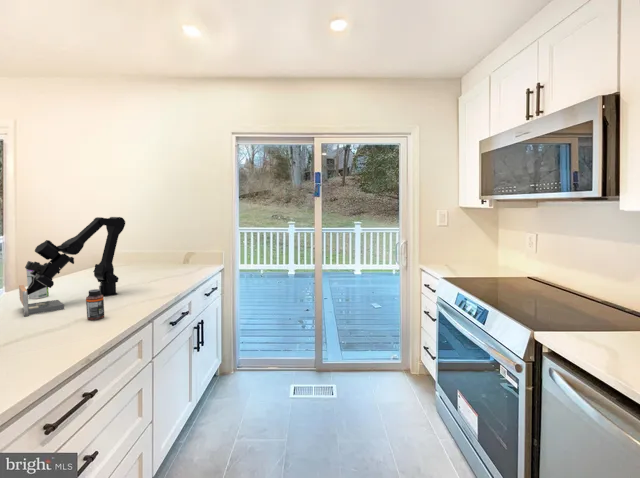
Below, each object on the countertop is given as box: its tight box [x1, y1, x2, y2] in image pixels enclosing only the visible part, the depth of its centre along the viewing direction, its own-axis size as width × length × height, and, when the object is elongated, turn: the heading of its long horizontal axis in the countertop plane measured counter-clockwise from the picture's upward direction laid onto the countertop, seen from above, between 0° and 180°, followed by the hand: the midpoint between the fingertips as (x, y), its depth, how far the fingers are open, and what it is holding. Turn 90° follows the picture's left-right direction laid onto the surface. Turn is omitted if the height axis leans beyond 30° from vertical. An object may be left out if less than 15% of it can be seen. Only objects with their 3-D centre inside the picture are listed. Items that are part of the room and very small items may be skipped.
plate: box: [22, 291, 65, 317], centre depth 158 cm, size 14×14×10 cm
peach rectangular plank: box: [18, 284, 27, 306], centre depth 155 cm, size 2×14×6 cm, turn 43°
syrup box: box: [25, 268, 50, 300], centre depth 179 cm, size 6×6×14 cm
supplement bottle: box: [85, 288, 105, 321], centre depth 147 cm, size 6×6×11 cm
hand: (25, 294), depth 158 cm, fingers closed
